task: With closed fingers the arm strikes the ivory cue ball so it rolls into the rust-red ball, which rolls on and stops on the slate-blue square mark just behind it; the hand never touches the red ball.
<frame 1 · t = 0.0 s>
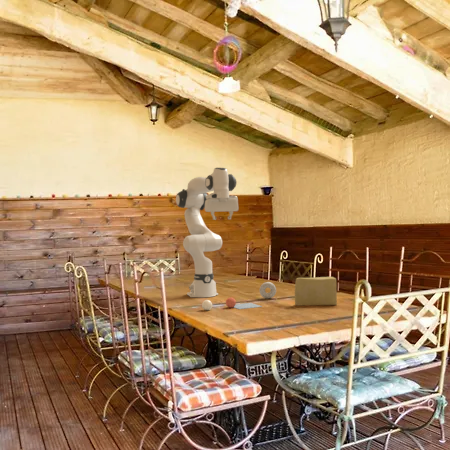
hand: (222, 219, 295), 48 cm above the table, tool pointing down, fingers open, 8 cm apart
red ball: (230, 302, 278), on the table
donut: (268, 298, 306), on the table
cue ball: (207, 305, 272), on the table
mark: (245, 306, 281), on the table
olive tan box: (315, 305, 280), on the table
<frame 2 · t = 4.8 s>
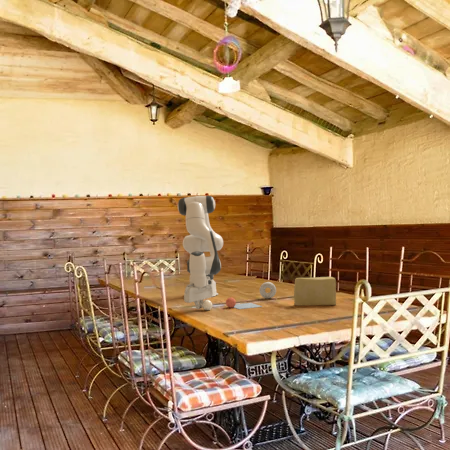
hand: (198, 308, 271), 1 cm above the table, tool pointing down, fingers closed
cue ball: (207, 305, 272), on the table, touching gripper
everything else where it was.
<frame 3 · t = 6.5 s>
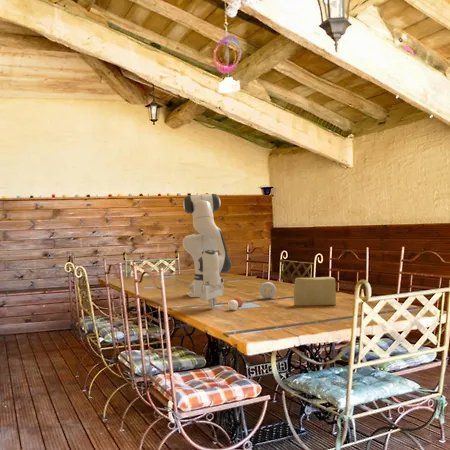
hand: (212, 306, 273), 2 cm above the table, tool pointing down, fingers closed
red ball: (238, 301, 280), on the table
cue ball: (233, 305, 270), on the table
everything else where it was.
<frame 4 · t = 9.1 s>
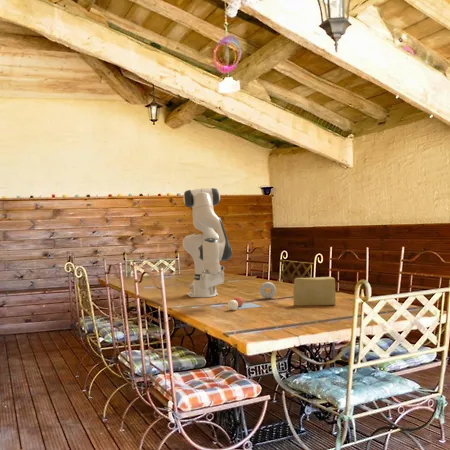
hand: (212, 294, 274), 8 cm above the table, tool pointing down, fingers closed
nothing on the table moved.
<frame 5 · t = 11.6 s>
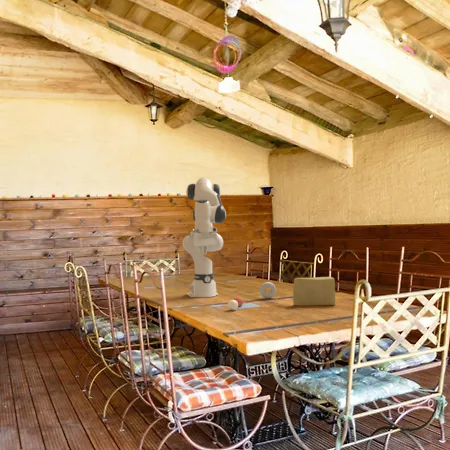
hand: (203, 254, 282), 29 cm above the table, tool pointing down, fingers closed
nothing on the table moved.
at the end: red ball 4.1 cm from the mark (horizontally); red ball never touched the robot; cue ball first touched red ball at 5.3 s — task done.
